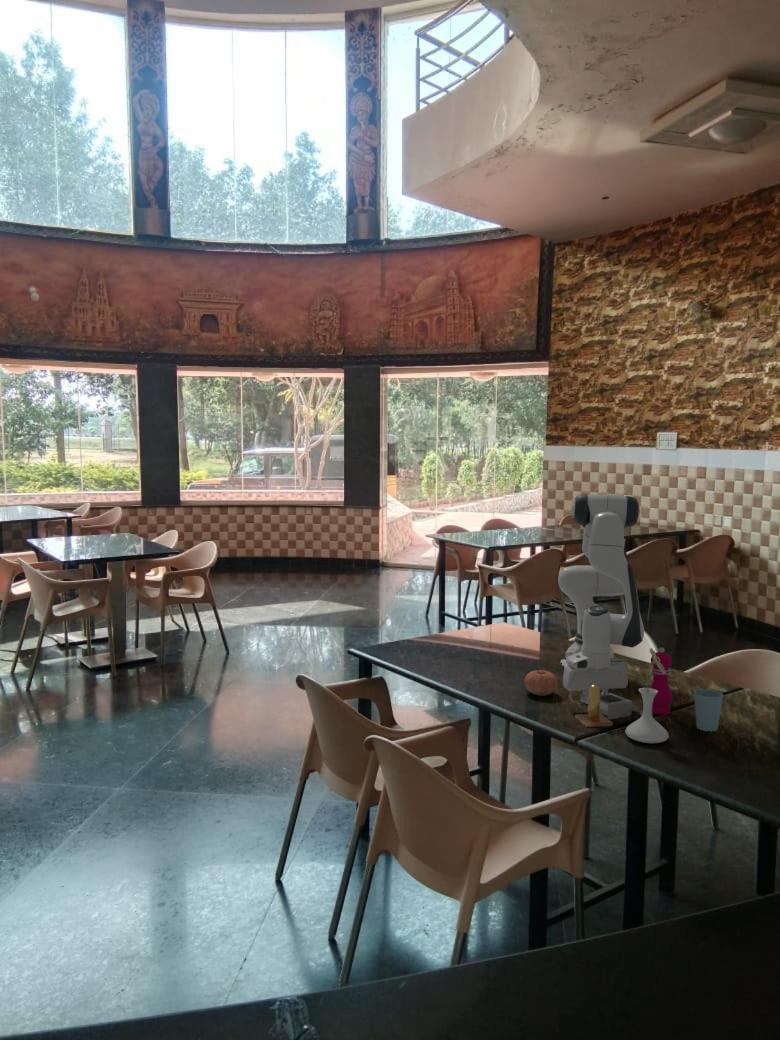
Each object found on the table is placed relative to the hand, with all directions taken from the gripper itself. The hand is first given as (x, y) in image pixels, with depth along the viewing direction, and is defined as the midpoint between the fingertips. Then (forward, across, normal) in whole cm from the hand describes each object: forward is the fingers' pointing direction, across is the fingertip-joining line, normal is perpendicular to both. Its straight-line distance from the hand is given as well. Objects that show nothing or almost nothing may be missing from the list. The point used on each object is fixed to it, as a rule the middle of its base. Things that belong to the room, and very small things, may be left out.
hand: (594, 702), depth 236 cm
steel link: (+1, -1, +2) cm, 3 cm away
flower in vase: (+1, -3, +28) cm, 28 cm away
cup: (+2, -24, +23) cm, 33 cm away
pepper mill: (+2, -18, +7) cm, 19 cm away
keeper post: (+1, +6, +12) cm, 14 cm away
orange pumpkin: (+2, +12, -16) cm, 20 cm away
